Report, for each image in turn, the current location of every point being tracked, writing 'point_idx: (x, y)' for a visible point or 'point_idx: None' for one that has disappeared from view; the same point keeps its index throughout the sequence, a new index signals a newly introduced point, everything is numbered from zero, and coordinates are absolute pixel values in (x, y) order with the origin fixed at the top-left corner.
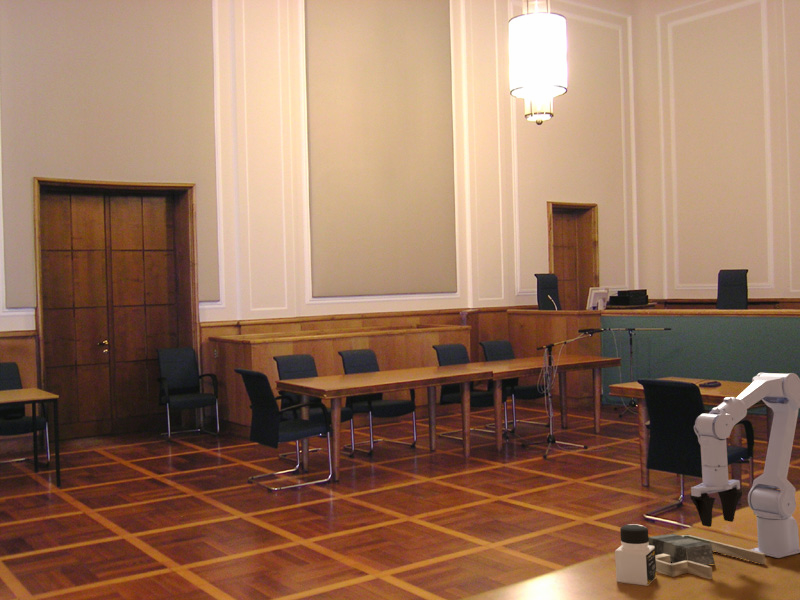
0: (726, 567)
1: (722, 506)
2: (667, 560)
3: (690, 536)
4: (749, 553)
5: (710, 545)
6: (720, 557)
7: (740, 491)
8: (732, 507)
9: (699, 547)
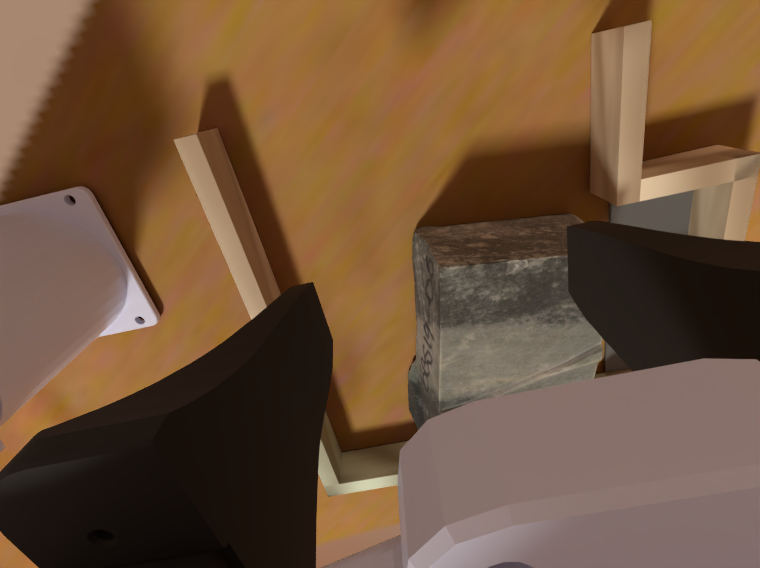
0: (398, 169)
1: (318, 434)
2: None
3: (334, 474)
4: (232, 211)
5: (446, 263)
6: (324, 302)
7: (26, 483)
8: (276, 343)
9: (523, 255)
